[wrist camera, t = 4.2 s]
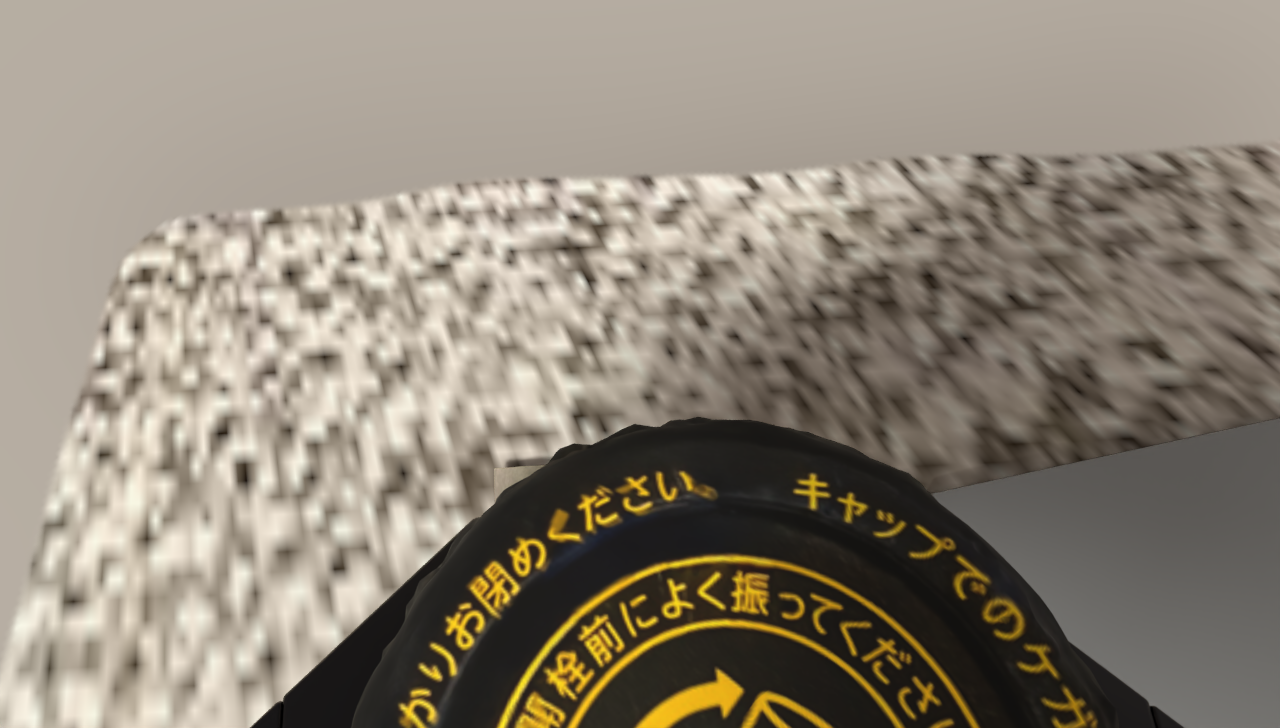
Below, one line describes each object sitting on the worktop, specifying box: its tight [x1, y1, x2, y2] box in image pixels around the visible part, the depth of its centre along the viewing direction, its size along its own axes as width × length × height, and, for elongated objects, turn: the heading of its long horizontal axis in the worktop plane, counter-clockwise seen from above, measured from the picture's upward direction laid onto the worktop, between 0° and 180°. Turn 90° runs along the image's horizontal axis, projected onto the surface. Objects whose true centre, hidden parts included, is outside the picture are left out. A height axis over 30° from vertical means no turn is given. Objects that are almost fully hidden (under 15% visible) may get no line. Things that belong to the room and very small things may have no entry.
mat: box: [932, 418, 1280, 728], centre depth 13 cm, size 12×12×1 cm
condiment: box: [351, 417, 1119, 728], centre depth 9 cm, size 7×8×12 cm
